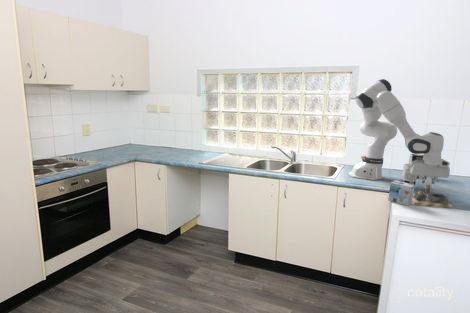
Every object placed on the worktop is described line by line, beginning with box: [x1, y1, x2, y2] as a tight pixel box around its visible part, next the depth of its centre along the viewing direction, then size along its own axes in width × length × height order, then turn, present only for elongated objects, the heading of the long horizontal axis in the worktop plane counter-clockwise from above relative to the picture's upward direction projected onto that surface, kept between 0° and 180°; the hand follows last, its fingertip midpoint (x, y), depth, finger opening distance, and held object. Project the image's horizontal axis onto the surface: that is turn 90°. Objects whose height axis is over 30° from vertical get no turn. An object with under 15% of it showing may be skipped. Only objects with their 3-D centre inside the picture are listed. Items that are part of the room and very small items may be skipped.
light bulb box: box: [387, 179, 416, 207], centre depth 176 cm, size 11×7×11 cm, turn 45°
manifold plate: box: [412, 190, 453, 209], centre depth 176 cm, size 18×12×6 cm, turn 80°
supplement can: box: [400, 163, 418, 189], centre depth 201 cm, size 8×8×15 cm
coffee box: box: [407, 153, 424, 179], centre depth 228 cm, size 9×6×16 cm
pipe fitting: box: [421, 176, 434, 194], centre depth 187 cm, size 4×4×10 cm
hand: (427, 183), depth 187 cm, fingers closed on pipe fitting, 4 cm apart
